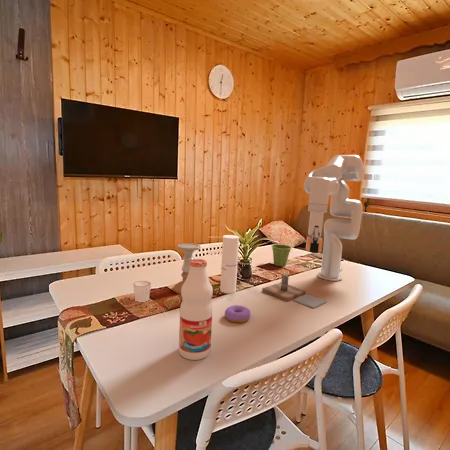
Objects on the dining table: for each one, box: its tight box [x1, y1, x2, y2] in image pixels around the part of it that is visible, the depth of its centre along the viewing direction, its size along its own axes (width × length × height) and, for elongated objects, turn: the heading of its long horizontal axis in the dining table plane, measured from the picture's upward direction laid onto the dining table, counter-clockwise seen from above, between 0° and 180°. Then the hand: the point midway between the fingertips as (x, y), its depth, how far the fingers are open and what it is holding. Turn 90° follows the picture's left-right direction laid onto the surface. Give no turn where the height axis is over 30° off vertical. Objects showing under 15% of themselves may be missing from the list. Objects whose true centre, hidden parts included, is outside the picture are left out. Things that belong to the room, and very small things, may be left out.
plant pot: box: [271, 243, 293, 267], centre depth 189 cm, size 12×12×11 cm
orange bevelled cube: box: [305, 235, 324, 253], centre depth 133 cm, size 6×6×5 cm
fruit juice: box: [178, 258, 214, 361], centre depth 93 cm, size 9×9×28 cm
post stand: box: [261, 273, 307, 302], centre depth 145 cm, size 14×14×8 cm
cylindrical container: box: [219, 234, 240, 294], centre depth 143 cm, size 7×7×25 cm
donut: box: [224, 304, 252, 324], centre depth 118 cm, size 10×9×5 cm
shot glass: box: [132, 280, 152, 303], centre depth 129 cm, size 7×7×7 cm
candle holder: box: [173, 242, 201, 294], centre depth 142 cm, size 12×12×20 cm
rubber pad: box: [292, 293, 327, 309], centre depth 137 cm, size 10×10×1 cm
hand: (313, 250), depth 134 cm, fingers closed on orange bevelled cube, 6 cm apart
